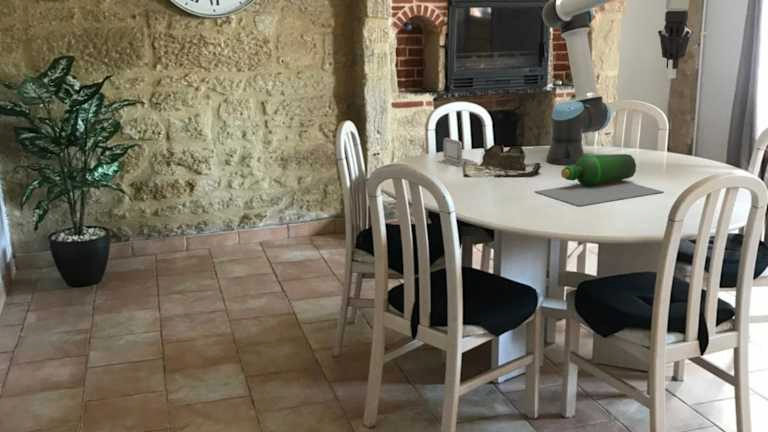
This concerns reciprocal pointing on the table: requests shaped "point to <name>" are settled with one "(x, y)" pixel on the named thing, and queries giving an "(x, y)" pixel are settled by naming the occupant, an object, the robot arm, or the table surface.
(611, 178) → the bottle
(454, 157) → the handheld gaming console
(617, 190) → the mat
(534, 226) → the table surface
